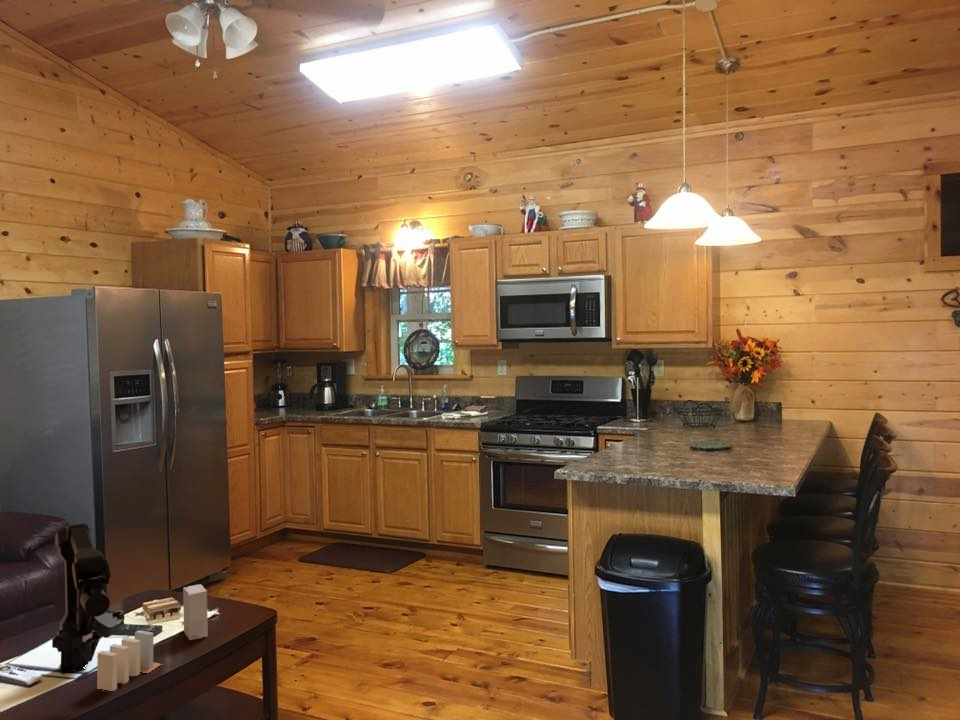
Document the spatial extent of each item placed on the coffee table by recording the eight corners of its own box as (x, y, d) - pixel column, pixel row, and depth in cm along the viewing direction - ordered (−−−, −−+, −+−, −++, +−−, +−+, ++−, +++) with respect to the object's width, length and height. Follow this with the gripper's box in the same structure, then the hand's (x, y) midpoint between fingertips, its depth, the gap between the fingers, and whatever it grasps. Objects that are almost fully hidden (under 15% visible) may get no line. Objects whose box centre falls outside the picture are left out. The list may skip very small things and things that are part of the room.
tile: (121, 669, 217) (121, 668, 217) (136, 660, 222) (136, 659, 222) (147, 674, 214) (147, 673, 214) (162, 665, 220) (162, 663, 220)
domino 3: (136, 677, 213) (136, 642, 212) (121, 674, 214) (121, 639, 213) (140, 674, 214) (140, 640, 213) (125, 671, 215) (125, 637, 215)
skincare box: (208, 637, 240) (208, 591, 239) (188, 641, 236) (188, 594, 235) (201, 627, 247) (202, 582, 246) (182, 631, 243) (182, 586, 242)
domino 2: (124, 684, 208) (124, 649, 208) (109, 681, 210) (109, 646, 209) (128, 681, 210) (129, 646, 209) (113, 678, 211) (114, 643, 210)
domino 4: (149, 669, 217) (149, 634, 216) (134, 666, 218) (134, 632, 217) (153, 666, 218) (153, 632, 218) (138, 663, 220) (138, 630, 219)
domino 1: (112, 692, 204) (113, 656, 203) (97, 689, 205) (97, 653, 205) (116, 689, 205) (117, 653, 205) (101, 686, 207) (102, 650, 206)
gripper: (87, 621, 186) (86, 683, 187) (140, 595, 204) (139, 651, 205) (50, 614, 189) (50, 675, 190) (106, 589, 207) (105, 644, 208)
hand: (88, 661), depth 198 cm, fingers closed
